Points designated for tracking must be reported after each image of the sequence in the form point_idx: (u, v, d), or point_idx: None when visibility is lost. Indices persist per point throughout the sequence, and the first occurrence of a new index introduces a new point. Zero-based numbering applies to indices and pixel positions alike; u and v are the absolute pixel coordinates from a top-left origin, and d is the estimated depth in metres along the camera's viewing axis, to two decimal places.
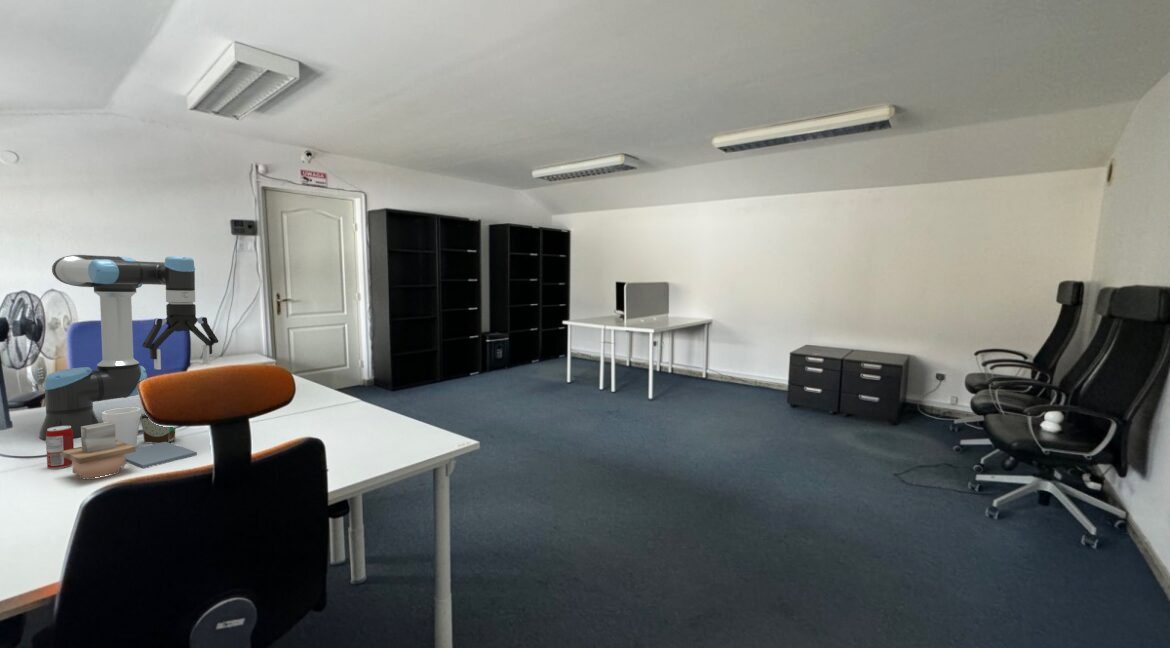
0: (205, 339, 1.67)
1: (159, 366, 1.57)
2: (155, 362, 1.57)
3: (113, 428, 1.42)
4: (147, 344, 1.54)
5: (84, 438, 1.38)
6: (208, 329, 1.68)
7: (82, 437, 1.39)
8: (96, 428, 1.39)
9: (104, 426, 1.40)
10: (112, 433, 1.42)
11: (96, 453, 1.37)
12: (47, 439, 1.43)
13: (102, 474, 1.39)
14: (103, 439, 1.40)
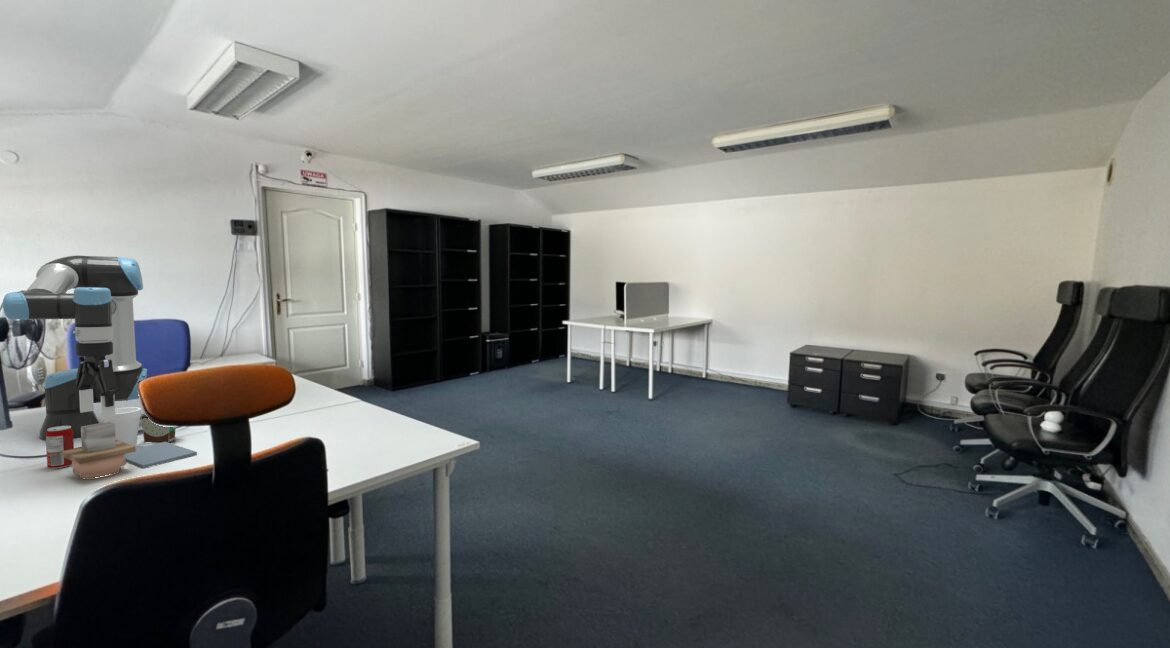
0: (100, 387, 1.36)
1: (80, 409, 1.42)
2: None
3: (113, 428, 1.42)
4: (76, 383, 1.43)
5: (84, 438, 1.38)
6: (101, 376, 1.35)
7: (82, 437, 1.39)
8: (96, 428, 1.39)
9: (104, 426, 1.40)
10: (112, 433, 1.42)
11: (96, 453, 1.37)
12: (47, 439, 1.43)
13: (102, 474, 1.39)
14: (103, 439, 1.40)
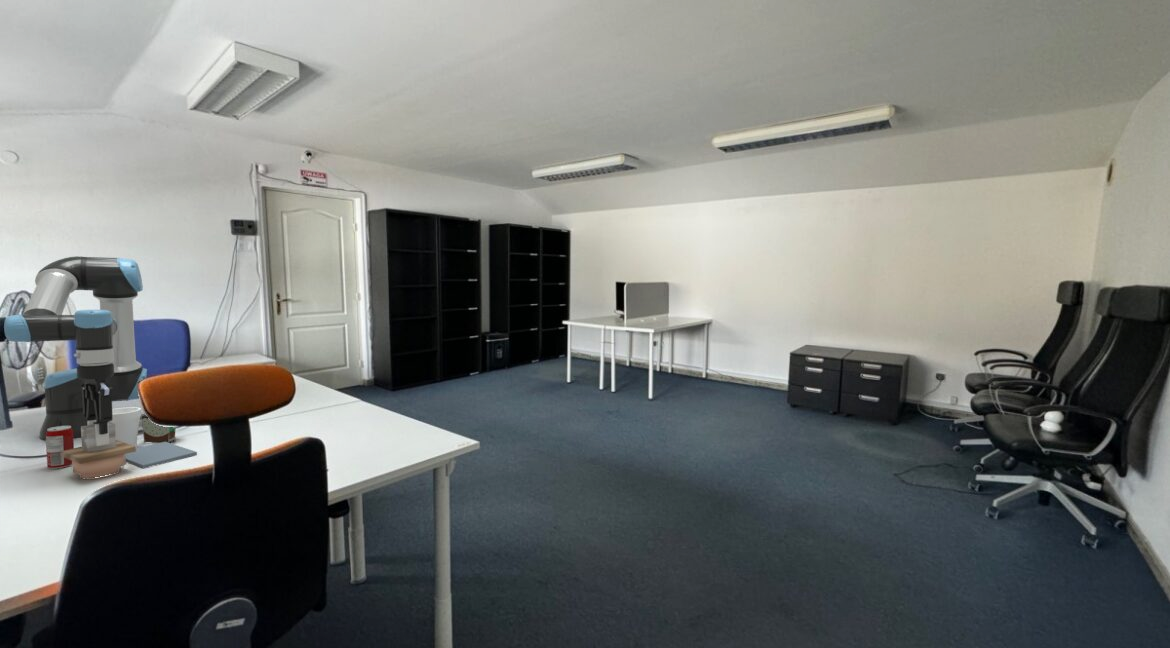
0: (96, 414, 1.38)
1: None
2: None
3: (113, 428, 1.42)
4: (83, 413, 1.42)
5: (84, 438, 1.38)
6: (99, 403, 1.37)
7: (82, 437, 1.39)
8: None
9: None
10: (112, 433, 1.42)
11: (96, 453, 1.37)
12: (47, 439, 1.43)
13: (102, 474, 1.39)
14: None
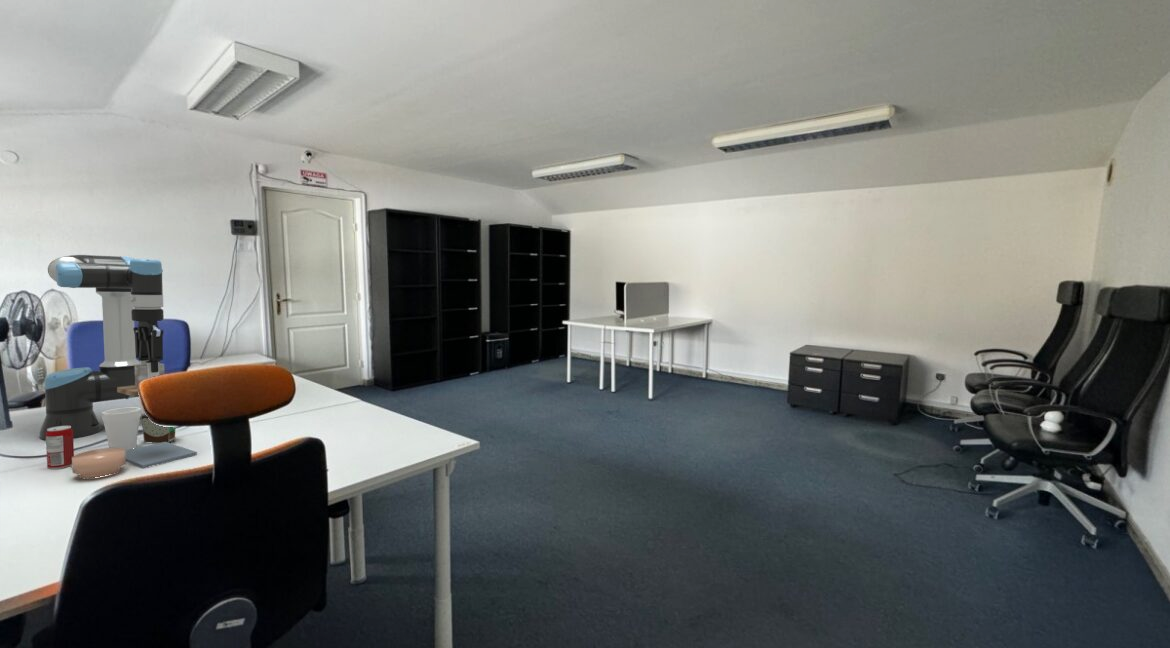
0: (148, 353, 1.52)
1: None
2: None
3: (162, 368, 1.56)
4: (136, 354, 1.55)
5: (138, 376, 1.52)
6: (151, 343, 1.50)
7: (136, 375, 1.52)
8: None
9: None
10: (162, 372, 1.56)
11: None
12: (47, 439, 1.43)
13: (102, 474, 1.39)
14: None
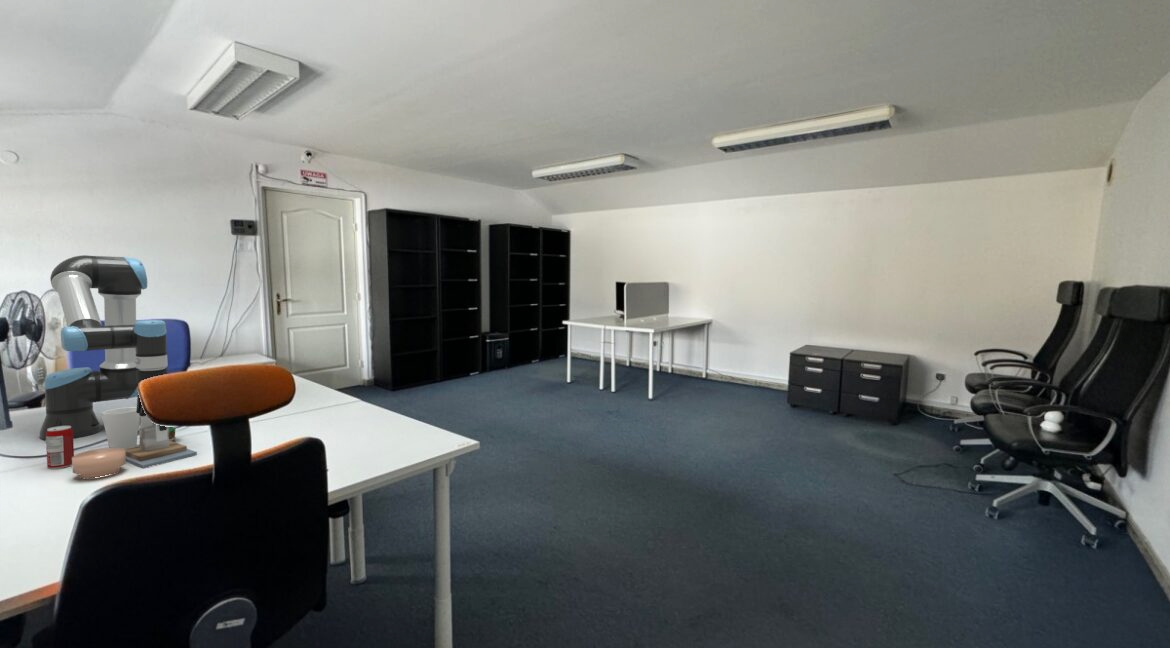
0: None
1: None
2: None
3: (167, 429, 1.58)
4: (137, 409, 1.58)
5: (142, 439, 1.54)
6: None
7: (140, 437, 1.55)
8: (153, 429, 1.55)
9: None
10: None
11: (153, 452, 1.53)
12: (47, 439, 1.43)
13: (102, 474, 1.39)
14: None
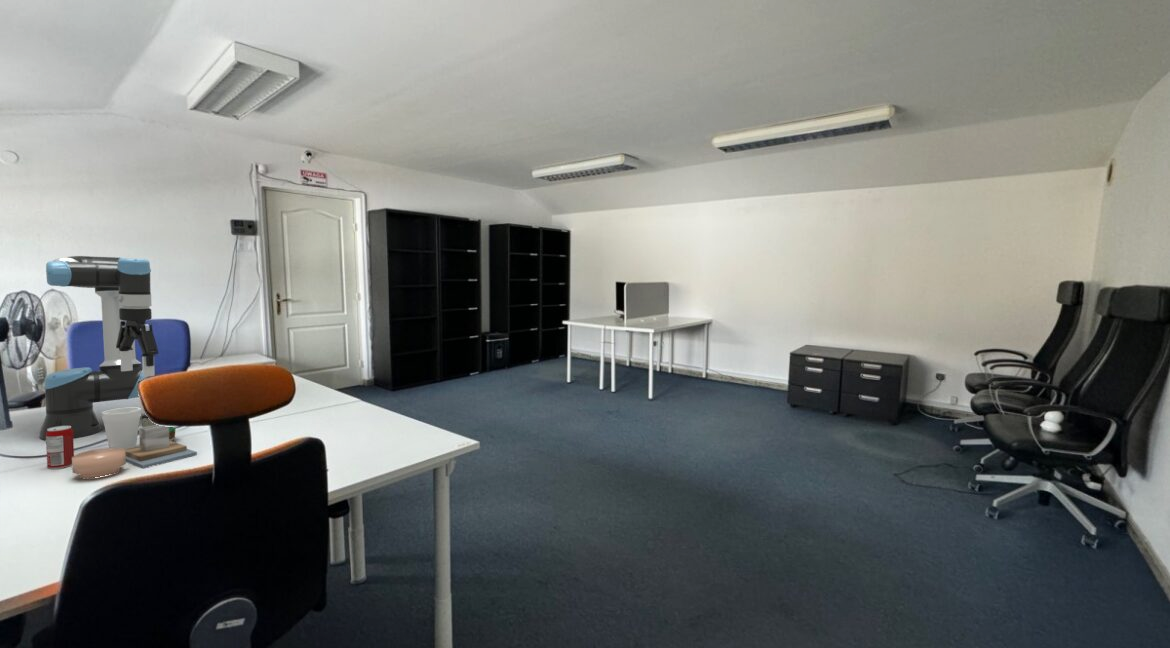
0: (142, 349, 1.51)
1: (121, 368, 1.57)
2: None
3: (167, 429, 1.58)
4: (116, 344, 1.58)
5: (142, 439, 1.54)
6: (143, 338, 1.51)
7: (140, 437, 1.55)
8: (153, 429, 1.55)
9: (159, 427, 1.56)
10: (166, 434, 1.58)
11: (153, 452, 1.53)
12: (47, 439, 1.43)
13: (102, 474, 1.39)
14: (158, 439, 1.56)
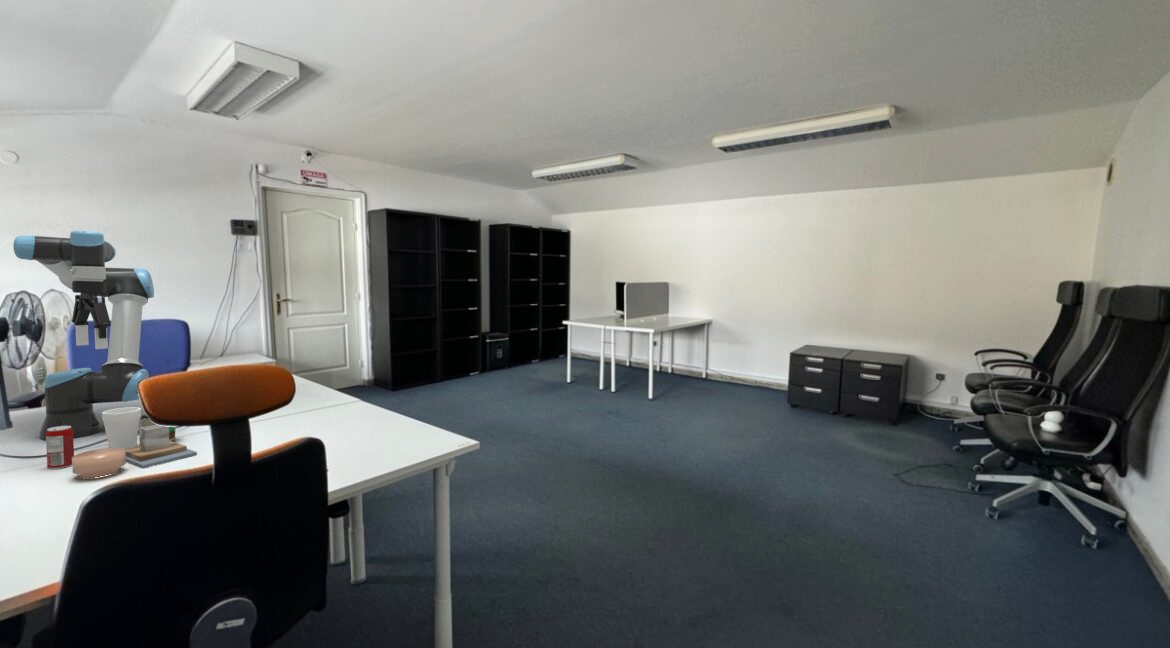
0: (94, 321, 1.51)
1: (76, 342, 1.57)
2: None
3: (167, 429, 1.58)
4: (72, 319, 1.58)
5: (142, 439, 1.54)
6: (95, 310, 1.50)
7: (140, 437, 1.55)
8: (153, 429, 1.55)
9: (159, 427, 1.56)
10: (166, 434, 1.58)
11: (153, 452, 1.53)
12: (47, 439, 1.43)
13: (102, 474, 1.39)
14: (158, 439, 1.56)
